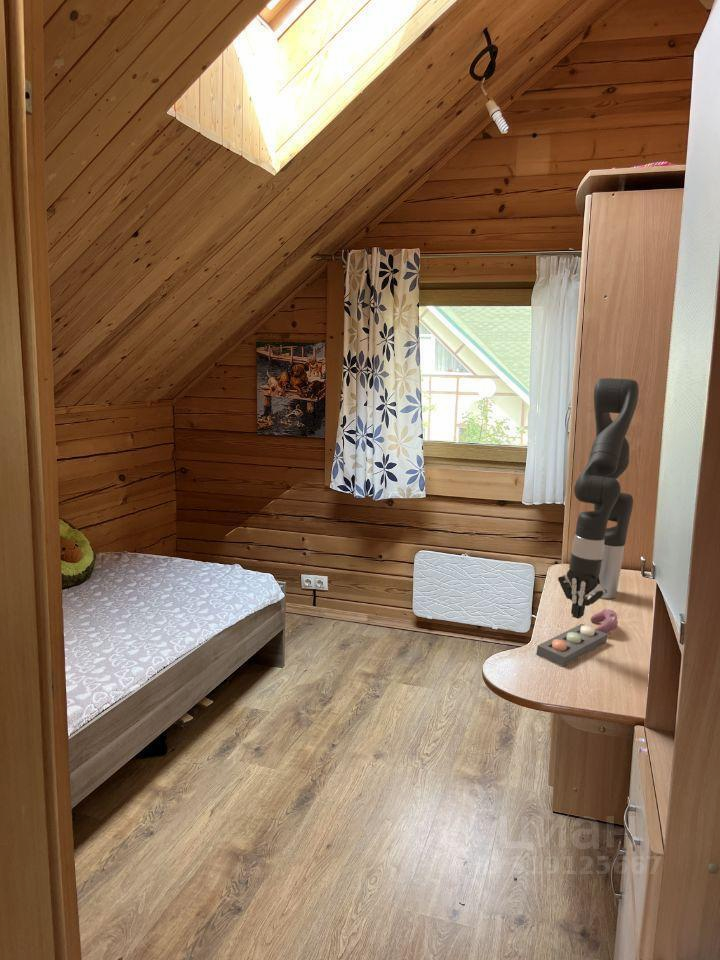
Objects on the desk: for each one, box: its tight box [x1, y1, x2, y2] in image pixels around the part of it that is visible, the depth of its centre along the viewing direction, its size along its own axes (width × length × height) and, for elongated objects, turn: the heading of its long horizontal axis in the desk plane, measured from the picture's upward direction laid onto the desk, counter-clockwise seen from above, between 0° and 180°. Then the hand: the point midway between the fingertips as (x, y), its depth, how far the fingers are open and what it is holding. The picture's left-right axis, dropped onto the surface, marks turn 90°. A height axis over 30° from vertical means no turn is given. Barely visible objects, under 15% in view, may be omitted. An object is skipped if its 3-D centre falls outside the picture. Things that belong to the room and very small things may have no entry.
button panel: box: [535, 623, 609, 667], centre depth 178 cm, size 22×8×2 cm, turn 133°
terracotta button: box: [552, 639, 567, 652], centre depth 173 cm, size 4×4×2 cm
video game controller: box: [590, 607, 619, 634], centre depth 190 cm, size 10×5×7 cm
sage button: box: [566, 632, 582, 645], centre depth 177 cm, size 4×4×2 cm
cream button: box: [580, 625, 596, 638], centre depth 182 cm, size 4×4×2 cm
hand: (576, 617), depth 176 cm, fingers closed
